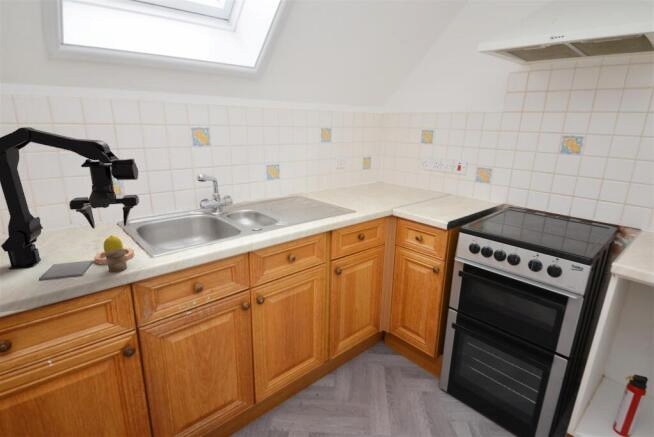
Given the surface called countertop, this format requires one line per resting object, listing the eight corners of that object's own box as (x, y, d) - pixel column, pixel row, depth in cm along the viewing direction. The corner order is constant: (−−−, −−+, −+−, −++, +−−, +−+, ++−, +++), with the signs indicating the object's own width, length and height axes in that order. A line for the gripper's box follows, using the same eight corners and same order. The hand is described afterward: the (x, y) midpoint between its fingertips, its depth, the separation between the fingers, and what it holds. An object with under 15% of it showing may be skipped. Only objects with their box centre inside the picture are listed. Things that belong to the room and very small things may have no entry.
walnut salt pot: (106, 273, 108) (103, 256, 106) (110, 267, 113) (107, 250, 111) (125, 271, 110) (123, 254, 108) (129, 265, 115) (126, 248, 113)
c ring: (91, 265, 113) (90, 261, 113) (100, 253, 124) (99, 249, 123) (130, 261, 117) (130, 257, 117) (136, 250, 127) (135, 246, 127)
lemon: (127, 254, 123) (124, 232, 121) (119, 260, 118) (115, 238, 116) (111, 254, 123) (107, 233, 121) (102, 260, 118) (98, 238, 115)
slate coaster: (39, 280, 103) (38, 278, 103) (53, 265, 113) (53, 264, 113) (82, 275, 107) (82, 273, 106) (93, 261, 117) (92, 260, 116)
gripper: (58, 186, 103) (68, 237, 107) (130, 183, 109) (136, 231, 113) (71, 180, 113) (80, 226, 117) (136, 178, 119) (142, 222, 123)
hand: (109, 227), depth 117 cm, fingers open, 9 cm apart
